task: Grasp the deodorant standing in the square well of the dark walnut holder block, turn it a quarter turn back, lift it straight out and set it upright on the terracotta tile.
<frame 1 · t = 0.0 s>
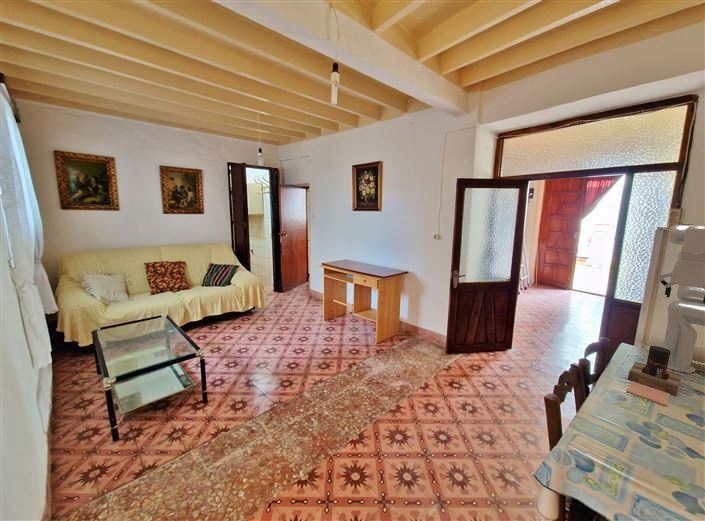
hand: (685, 299, 115), 37 cm above the table, tool pointing down, fingers open, 9 cm apart
tile: (647, 394, 114), on the table
deodorant: (653, 382, 123), resting in holder block
holder block: (653, 381, 122), on the table
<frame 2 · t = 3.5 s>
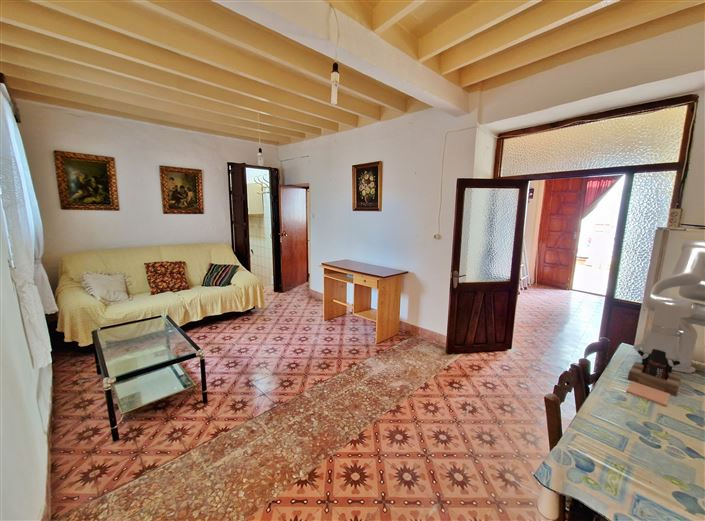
hand: (655, 369, 122), 6 cm above the table, tool pointing down, fingers closed on deodorant, 5 cm apart
deodorant: (653, 382, 123), resting in holder block, touching gripper
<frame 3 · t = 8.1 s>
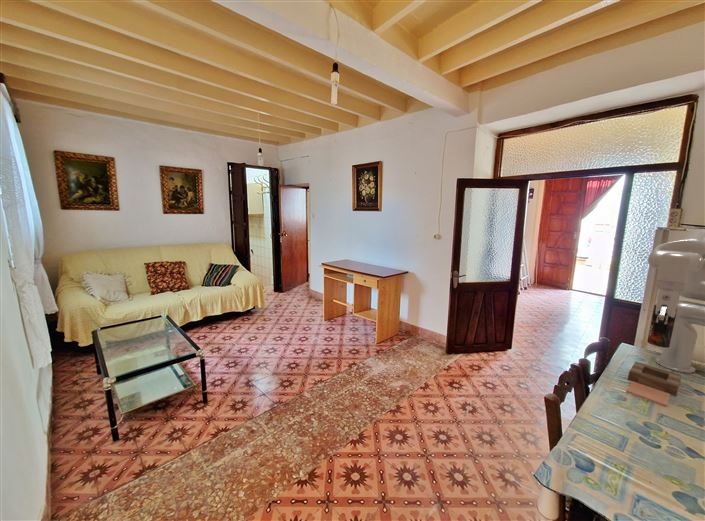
hand: (660, 330, 111), 26 cm above the table, tool pointing down, fingers closed on deodorant, 6 cm apart
deodorant: (657, 344, 112), point 20 cm above the table, touching gripper
when the fingers open (8 cm above the table, at t = 12.6 s): deodorant drops 1 cm, resting on tile.
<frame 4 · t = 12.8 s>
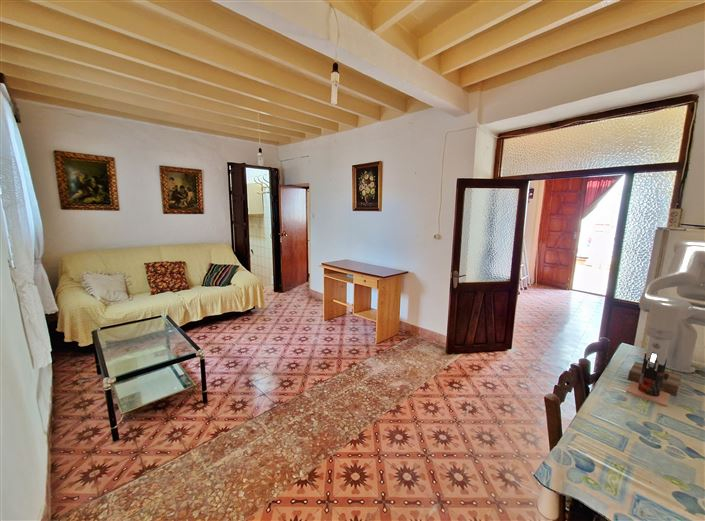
hand: (651, 374, 113), 8 cm above the table, tool pointing down, fingers open, 8 cm apart
deodorant: (648, 392, 114), point 1 cm above the table, touching tile
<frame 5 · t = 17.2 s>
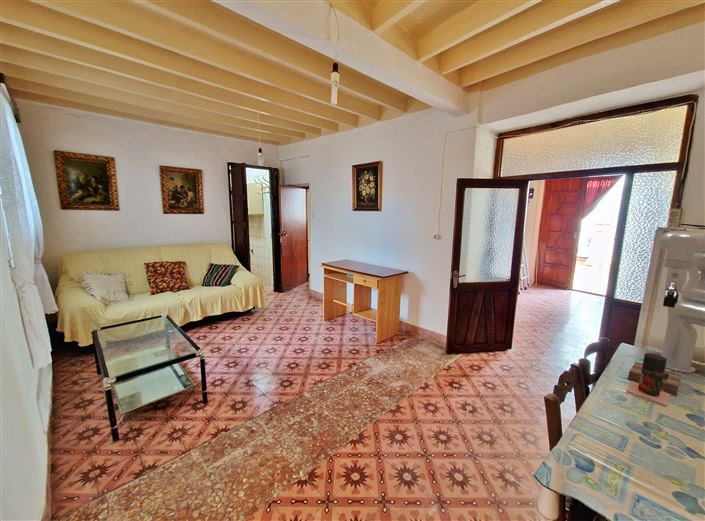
hand: (669, 304, 120), 33 cm above the table, tool pointing down, fingers open, 9 cm apart
nothing on the table moved.
at the end: deodorant 0.4 cm off-centre on the tile, point 0.6 cm above the tile's base; deodorant tilted 0°; the gripper is holding nothing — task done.
